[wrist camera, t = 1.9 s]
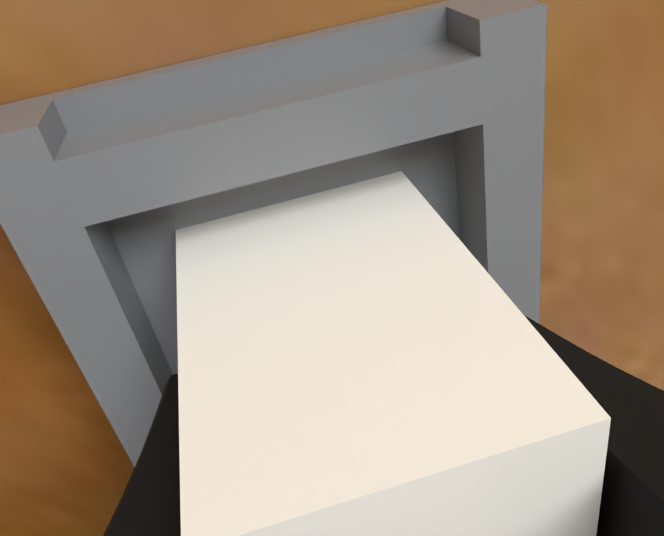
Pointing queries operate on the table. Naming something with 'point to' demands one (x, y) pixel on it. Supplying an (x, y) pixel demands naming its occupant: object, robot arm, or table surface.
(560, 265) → the table surface
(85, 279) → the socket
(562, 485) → the white rectangular block
